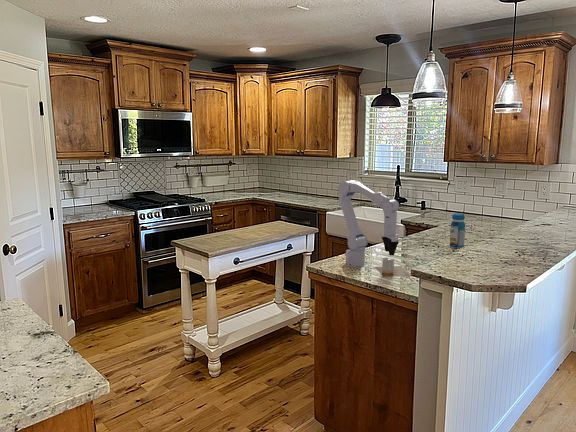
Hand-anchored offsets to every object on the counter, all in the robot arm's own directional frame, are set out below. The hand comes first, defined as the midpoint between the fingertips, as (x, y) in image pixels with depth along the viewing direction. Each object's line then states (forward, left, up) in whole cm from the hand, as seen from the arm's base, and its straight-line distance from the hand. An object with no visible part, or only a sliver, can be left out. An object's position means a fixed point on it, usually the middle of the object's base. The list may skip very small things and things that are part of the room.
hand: (389, 253), depth 214 cm
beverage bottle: (+53, +47, -10) cm, 72 cm away
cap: (-2, -4, -7) cm, 8 cm away
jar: (-2, -4, -9) cm, 10 cm away
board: (+1, -1, -10) cm, 10 cm away
